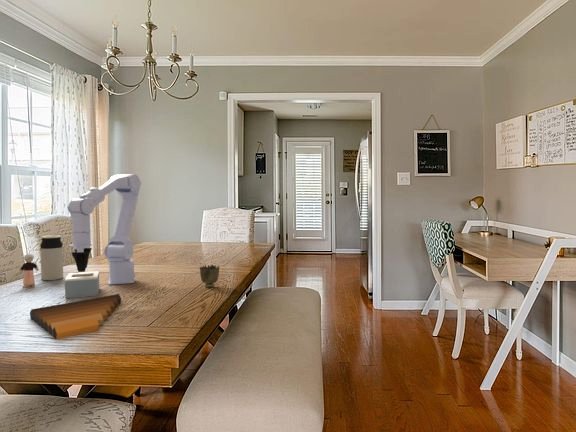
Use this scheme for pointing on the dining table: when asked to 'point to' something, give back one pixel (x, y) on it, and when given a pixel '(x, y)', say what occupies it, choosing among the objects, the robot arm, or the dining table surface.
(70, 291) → the coin box
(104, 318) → the pan flute
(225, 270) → the dining table surface
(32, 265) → the grandmother figurine
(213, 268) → the cup
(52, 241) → the travel mug
